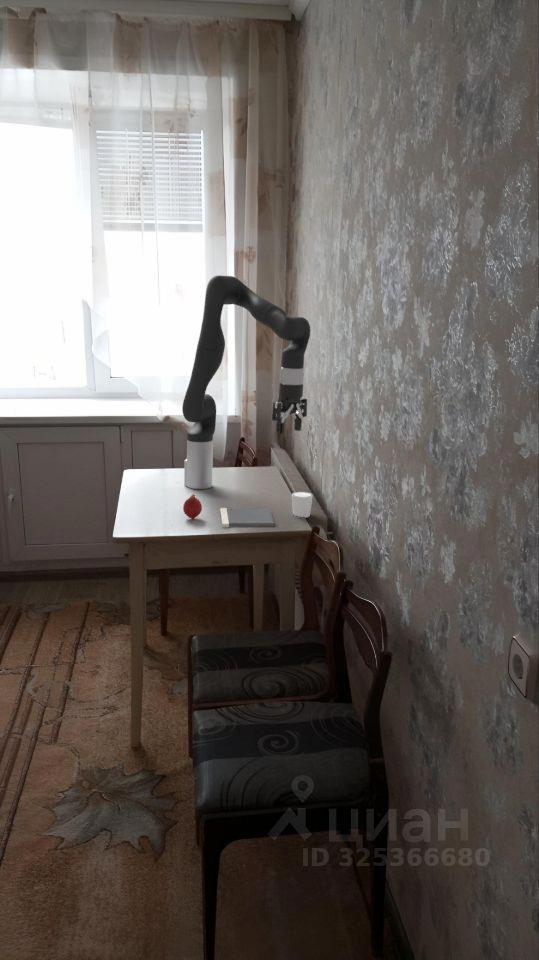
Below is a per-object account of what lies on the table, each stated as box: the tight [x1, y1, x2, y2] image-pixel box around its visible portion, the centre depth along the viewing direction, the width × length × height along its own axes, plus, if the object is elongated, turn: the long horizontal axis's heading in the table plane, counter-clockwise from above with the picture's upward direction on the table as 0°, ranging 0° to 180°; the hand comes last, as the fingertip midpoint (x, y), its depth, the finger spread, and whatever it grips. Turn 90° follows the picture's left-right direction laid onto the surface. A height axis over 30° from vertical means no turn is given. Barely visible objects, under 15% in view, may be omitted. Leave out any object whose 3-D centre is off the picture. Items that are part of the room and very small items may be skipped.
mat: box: [219, 507, 275, 528], centre depth 237 cm, size 16×16×1 cm
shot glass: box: [291, 491, 314, 519], centre depth 242 cm, size 7×7×7 cm
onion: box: [182, 494, 203, 520], centre depth 234 cm, size 6×6×8 cm
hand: (288, 432), depth 240 cm, fingers open, 8 cm apart
